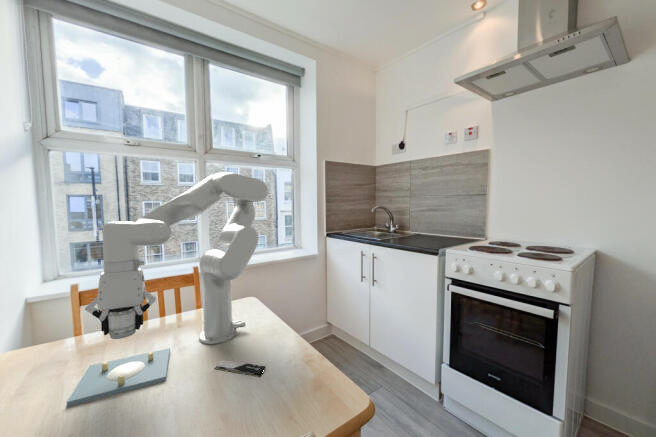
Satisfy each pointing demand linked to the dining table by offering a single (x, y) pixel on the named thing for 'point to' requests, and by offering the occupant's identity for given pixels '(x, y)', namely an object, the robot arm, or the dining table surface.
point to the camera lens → (122, 322)
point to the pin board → (121, 376)
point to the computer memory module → (241, 368)
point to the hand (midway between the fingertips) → (123, 329)
